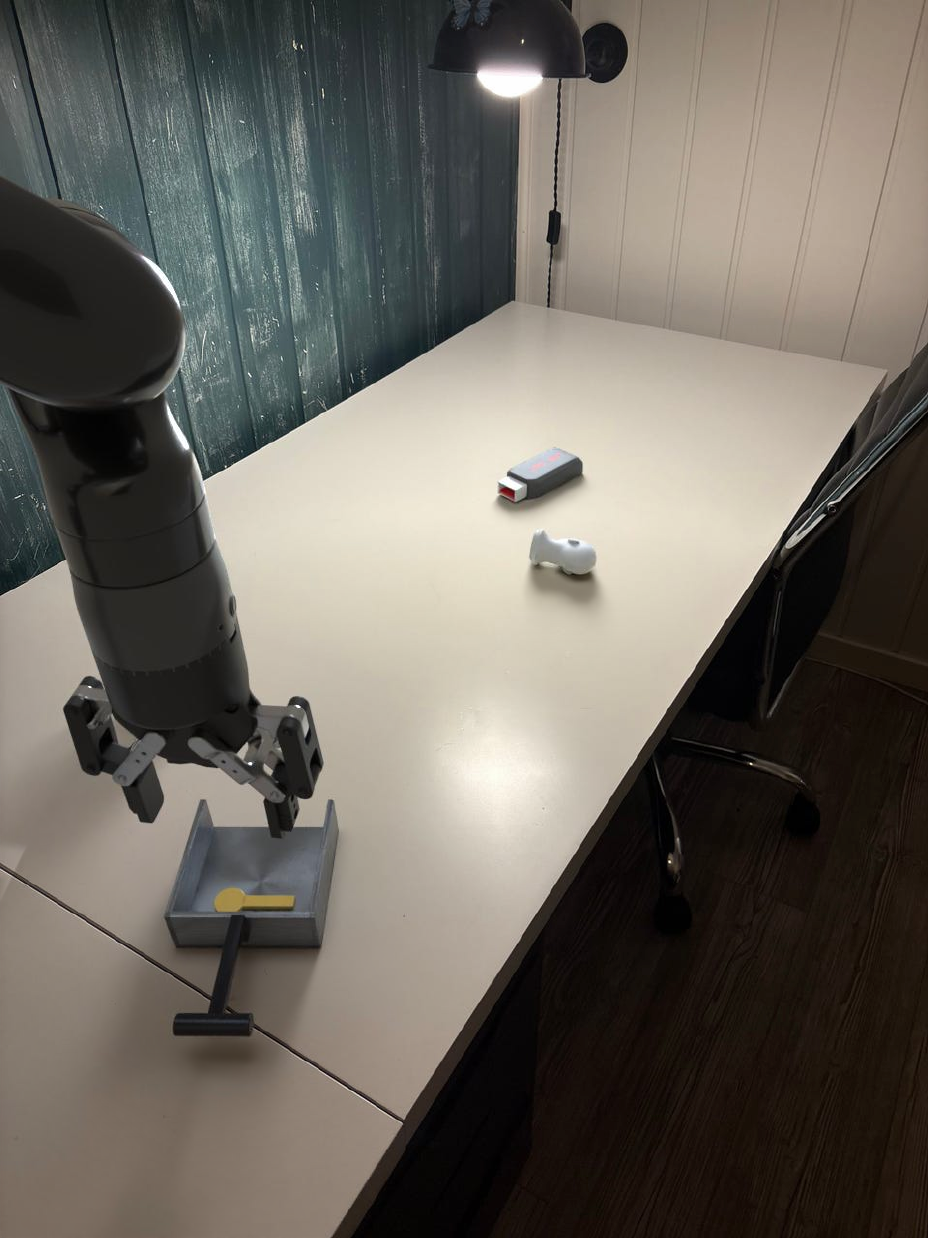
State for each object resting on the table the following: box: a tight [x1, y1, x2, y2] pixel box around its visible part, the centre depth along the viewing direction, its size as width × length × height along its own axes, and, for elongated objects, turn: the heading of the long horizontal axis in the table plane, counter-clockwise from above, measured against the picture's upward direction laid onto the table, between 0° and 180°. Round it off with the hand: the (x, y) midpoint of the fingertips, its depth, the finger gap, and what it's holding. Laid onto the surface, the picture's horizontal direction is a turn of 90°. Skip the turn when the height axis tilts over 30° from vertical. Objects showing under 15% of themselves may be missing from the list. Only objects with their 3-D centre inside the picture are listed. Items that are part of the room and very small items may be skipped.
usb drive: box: [497, 446, 584, 503], centre depth 121 cm, size 5×12×3 cm, turn 134°
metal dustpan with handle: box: [163, 798, 340, 1038], centre depth 68 cm, size 11×20×5 cm, turn 179°
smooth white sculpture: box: [528, 528, 597, 575], centre depth 106 cm, size 4×8×5 cm
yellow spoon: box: [214, 888, 295, 912], centre depth 71 cm, size 6×2×1 cm, turn 89°
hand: (217, 820), depth 58 cm, fingers open, 8 cm apart
